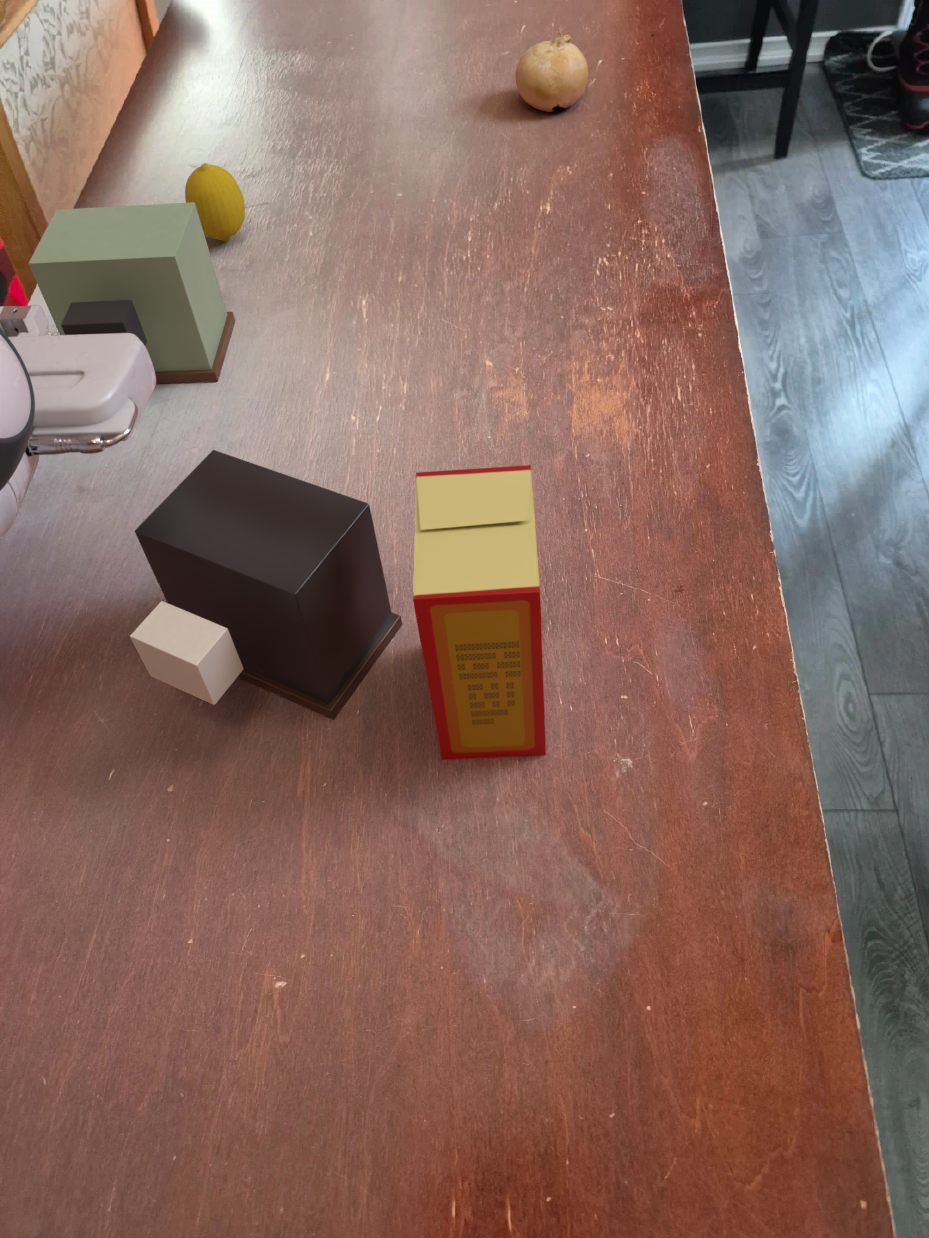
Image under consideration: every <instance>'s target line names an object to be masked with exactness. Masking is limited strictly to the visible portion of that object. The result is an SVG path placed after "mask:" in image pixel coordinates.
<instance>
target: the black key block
mask: <svg viewBox="0 0 929 1238" xmlns="http://www.w3.org/2000/svg"><path fill="white" fill-rule="evenodd" d="M134 533H135V535H136V538H137V540H138V543H139V544H140V546H141V549H142V552H143V553H144V555H145V557H146V559H147V562H148V564H149V566H150V568H151V570H152V573H153V575H154V577H155V579H156V583H157V584H158V586H159V588H160V590H161V593H162V595H163V597H164V599H165V602H166V603H168V604H170V605H173V606H175V607H178V608H180V609H182V610H185V611H187V612H189V613H192V614H194V615H197V616H199V617H201V618H204V619H206V620H209V621H211V622H213V623H216V624H218V625H220V626H223V627H225V628H227V629H228V631H229V633H230V636H231V638H232V641H233V643H234V646H235V648H236V651H237V653H238V656H239V658H240V661H241V663H242V666H243V668H244V669H243V670H242V672H241V673H240V674H239V675H238V677H237V678H238V679H241V680H243V681H245V682H248V683H249V684H252V685H254V686H257V687H259V688H261V689H263V690H266V691H268V692H270V693H272V694H274V695H277V696H279V697H282V698H283V699H286V700H288V701H290V702H293V703H295V704H298V705H299V706H302V707H304V708H307V709H309V710H311V711H313V712H316V713H317V714H320V715H321V716H322V715H323V716H325V717H327V718H329V719H332V720H334V719H335V718H336V717H337V716H338V714H339V713H340V711H341V710H342V708H344V706H345V704H346V703H347V701H348V700H349V699H350V698H351V696H352V694H353V693H354V692H355V691H356V689H357V688H358V686H359V685H360V684H361V683H362V681H363V680H364V679H365V677H366V676H367V674H368V673H369V671H370V670H371V669H372V667H373V666H374V664H375V663H376V662H377V660H378V659H379V657H380V656H381V655H382V653H383V652H384V651H385V650H386V648H387V646H388V645H389V643H390V642H391V641H392V640H393V638H394V636H395V635H396V634H397V633H398V631H399V630H400V629H401V627H402V625H403V621H402V616H401V615H400V614H397V613H394V612H392V608H391V604H390V599H389V594H388V589H387V584H386V578H385V575H384V570H383V564H382V560H381V555H380V554H381V553H380V550H379V544H378V541H377V536H376V530H375V526H374V521H373V516H372V511H371V506H370V503H368V502H365V501H362V500H360V499H358V498H357V499H356V498H354V497H351V496H348V495H346V494H342V493H340V492H337V491H334V490H331V489H328V488H325V487H323V486H319V485H316V484H313V483H311V482H308V481H305V480H302V479H299V478H296V477H293V476H290V475H288V474H284V473H281V472H279V471H276V470H273V469H270V468H267V467H265V466H263V465H258V464H256V463H253V462H250V461H247V460H245V459H241V458H239V457H236V456H233V455H230V454H227V453H225V452H221V451H218V450H215V449H212V450H211V451H210V452H209V454H207V456H205V457H204V459H202V461H201V462H200V463H198V465H197V466H196V467H195V468H194V469H193V470H192V471H190V473H189V474H188V475H187V476H186V477H185V478H184V479H183V480H182V481H181V482H180V483H179V484H178V485H177V486H176V487H175V489H173V491H171V492H170V494H169V495H167V497H165V498H164V500H163V501H162V502H161V503H160V504H159V505H157V506H156V508H155V509H154V510H153V511H152V512H151V513H150V514H149V515H148V516H147V517H146V518H145V519H144V521H143V522H141V524H139V526H138V527H137V528H136V529H134Z"/></svg>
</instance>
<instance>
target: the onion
mask: <svg viewBox="0 0 929 1238" xmlns="http://www.w3.org/2000/svg"><path fill="white" fill-rule="evenodd" d="M557 33H558V35H559V36H557V37H555V38H554V39H553V40H542V41H540V42H537V43H536V44H534V45H532V46H531V47H529V48H528V49H527V50H526V51H525V52H524V53H523V54H522V56H521V57H520V59H519V61H518V63H517V66H516V69H515V84H516V88H517V91H518V93H519V94H520V96H521V98H522V99H523V100H524V102H525V103H526V104H528V105H529V106H530V107H532V108H534V109H536V110H539V111H542V112H546V113H553V112H555V110H553V109H555V108H556V107H557V106H558V108H564V109H568V108H570V107H571V106H573V105H575V103H576V102H577V101H578V100H579V99H580V98H581V96H583V93H584V92H585V89H586V87H587V83H588V77H589V66H588V62H587V60H586V58H585V55H584V54H583V52H582V51H581V50H580V49H579V47H578V46H576V45H575V44H574V43H572V42H570V41H571V40H572V37H571V35H570V34H563V33H562V28H560V27H559V28H558V29H557Z"/></svg>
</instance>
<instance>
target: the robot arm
mask: <svg viewBox="0 0 929 1238" xmlns="http://www.w3.org/2000/svg"><path fill="white" fill-rule="evenodd" d="M48 329H49V320H48V318H47V315H46V313H45V311H44V308H43V307H42V305H40V304H33V305H2V306H1V305H0V540H1V539H2V538H3V537H4V536H5V535H6V534H7V533H8V532H9V530H10V529H11V527H12V526H13V524H14V523H15V520H16V517H17V515H18V512H19V510H20V507H21V506H22V503H23V501H24V498H25V496H26V494H27V491H28V489H29V487H30V485H31V482H32V479H33V477H34V476H35V475H34V474H35V473H36V470H37V468H38V465H39V460H40V456H54V455H63V454H64V455H65V454H71V453H74V454H75V453H80V454H83V455H92V454H97V453H102V452H104V451H105V450H106V448H110V447H111V448H112V447H114V446H116V445H118V444H119V443H120V442H126V441H128V439H129V438H131V436H132V434H133V433H134V430H135V427H136V424H137V422H138V421H139V419H140V417H141V416H142V414H143V412H144V411H145V409H146V407H147V405H148V403H149V401H150V399H151V397H152V395H153V393H154V390H155V387H156V385H157V384H156V375H155V371H154V367H153V364H152V361H151V358H150V356H149V353H148V351H147V349H146V347H145V345H144V344H143V343H142V342H141V340H140V339H139V338H138V337H137V336H136V335H134V334H131V333H112V334H82V335H60V334H58V335H57V334H55V335H53V334H52V335H51V334H50V335H46V333H47V331H48Z"/></svg>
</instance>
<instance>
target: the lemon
mask: <svg viewBox="0 0 929 1238" xmlns="http://www.w3.org/2000/svg"><path fill="white" fill-rule="evenodd" d="M184 195H185V196H184V197H185V199H184V200H185V203H191V202H195V205H196V209H197V212H198V215H199V219H200V222H201V226H202V229H203V232H204V236H205V237H207V238H210V239H213V240H220V241H221V242H224V243H225V242H228V241H229V240H230V239H231V237H233V236H235V235H236V234H237V233H238V232H239V231H240V229H241V228H242V226H243V224H244V221H245V217H246V205H245V199H244V195H243V192H242V190H241V188H240V186H239V184H238V183H237V181H236V178H235V177H234V176H233V175H232V174H231V172H229V171H228V170H227V169H225V168H224V167H221V166H219V165H217V164H209V163H207V162H205V163H202V164H201V165H200V166H198V167H197V168H195V169H194V170H193V171H192V172H191V174H190V175H189V176H188V178H187V180H186V184H185V187H184Z"/></svg>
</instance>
